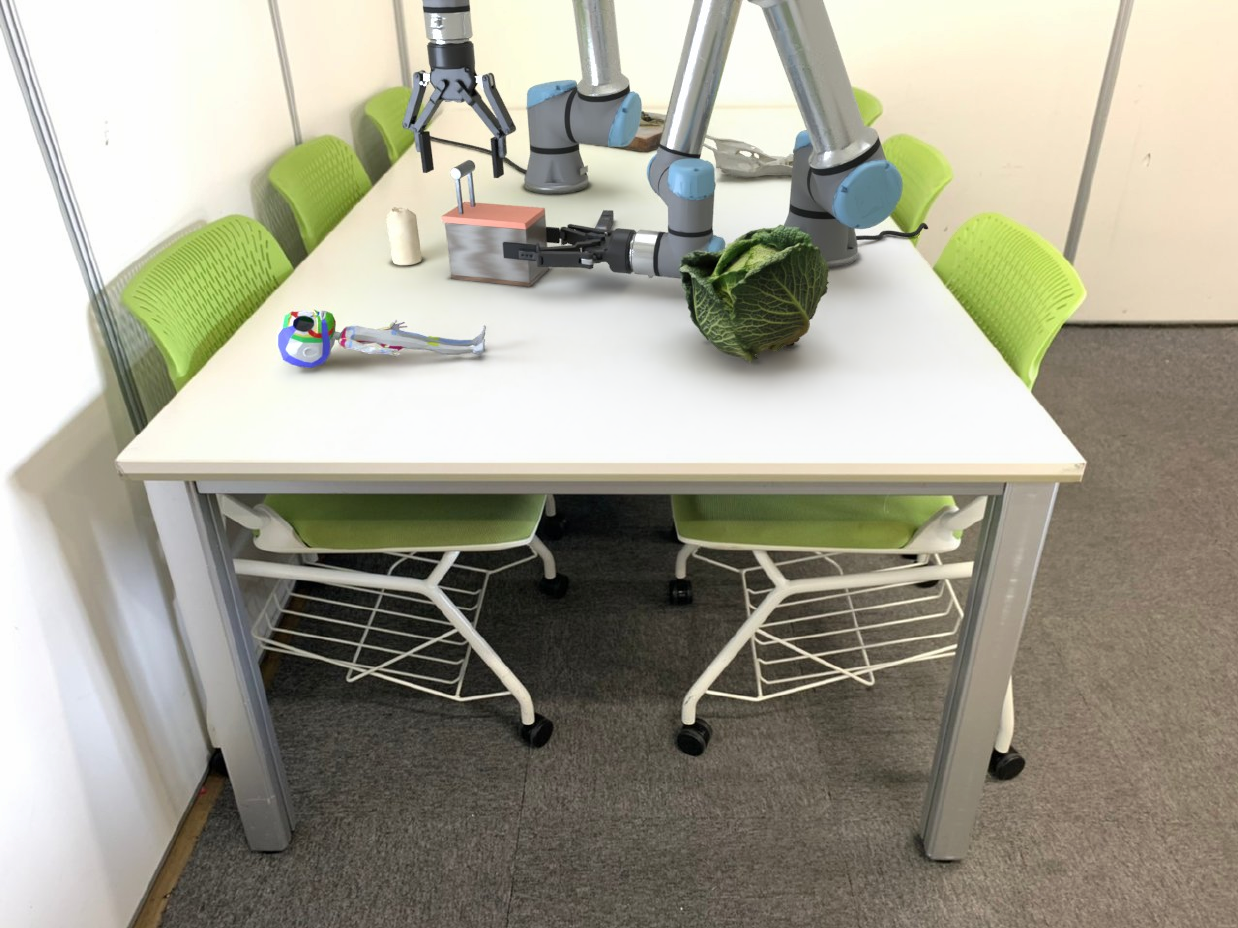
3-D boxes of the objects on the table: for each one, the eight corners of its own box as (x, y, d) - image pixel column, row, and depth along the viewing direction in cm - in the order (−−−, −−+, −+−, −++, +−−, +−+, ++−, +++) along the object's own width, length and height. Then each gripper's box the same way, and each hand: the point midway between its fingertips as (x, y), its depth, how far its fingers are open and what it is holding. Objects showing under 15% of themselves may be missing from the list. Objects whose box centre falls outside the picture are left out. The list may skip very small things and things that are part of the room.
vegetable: (713, 374, 144) (652, 267, 136) (810, 307, 145) (755, 197, 138) (765, 401, 126) (698, 280, 118) (875, 325, 127) (816, 200, 119)
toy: (485, 337, 129) (268, 320, 125) (482, 389, 134) (272, 374, 129) (486, 310, 138) (283, 293, 133) (484, 360, 142) (287, 345, 138)
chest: (451, 278, 164) (444, 223, 158) (473, 262, 171) (467, 208, 165) (530, 286, 159) (525, 230, 154) (548, 269, 167) (545, 214, 161)
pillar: (613, 210, 190) (600, 241, 173) (613, 220, 191) (600, 251, 174) (603, 210, 190) (589, 240, 173) (603, 220, 191) (589, 251, 174)
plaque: (647, 125, 237) (559, 112, 252) (647, 153, 241) (560, 139, 256) (706, 107, 258) (622, 97, 273) (705, 133, 262) (622, 121, 277)
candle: (427, 257, 173) (420, 205, 168) (412, 267, 168) (405, 214, 163) (402, 254, 174) (394, 203, 169) (387, 264, 170) (378, 211, 165)
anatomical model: (702, 130, 224) (803, 129, 220) (702, 168, 229) (801, 167, 225) (697, 145, 212) (805, 144, 208) (697, 184, 216) (802, 184, 213)
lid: (442, 222, 158) (435, 169, 153) (465, 207, 166) (459, 156, 161) (525, 229, 154) (521, 175, 149) (545, 214, 161) (542, 162, 156)
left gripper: (370, 41, 146) (389, 174, 157) (511, 45, 139) (520, 184, 151) (393, 36, 152) (410, 164, 163) (529, 39, 145) (537, 173, 157)
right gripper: (616, 295, 148) (491, 282, 154) (652, 252, 166) (539, 242, 172) (615, 251, 144) (487, 239, 150) (652, 212, 162) (536, 203, 168)
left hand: (463, 174), depth 157 cm, fingers open, 13 cm apart
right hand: (515, 241), depth 161 cm, fingers closed on chest, 9 cm apart
